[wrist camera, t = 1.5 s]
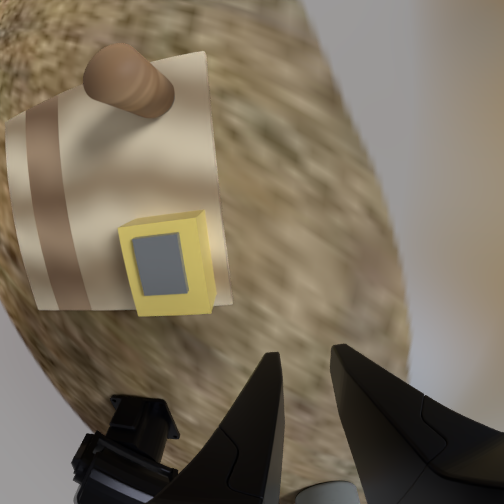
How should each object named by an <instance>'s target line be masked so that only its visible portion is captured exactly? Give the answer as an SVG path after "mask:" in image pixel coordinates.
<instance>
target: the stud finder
mask: <svg viewBox="0 0 504 504" xmlns="http://www.w3.org/2000/svg"><path fill="white" fill-rule="evenodd" d="M118 234H119V239H120V244H121V248H122V253H123V258H124V262H125V267H126V271H127V275H128V279H129V283H130V287H131V291H132V295H133V299H134V303H135V306H136V310H137V313H138V316H171V315H193V314H211V312H212V308H213V305H214V301H215V298H216V294H217V292H216V285H215V279H214V272H213V266H212V259H211V252H210V245H209V238H208V230H207V223H206V215H205V210H196V211H188V212H180V213H172V214H164V215H157V216H150V217H143V218H136V219H134V220H132V221H130V222H128V223H126V224H124V225H122V226H120V227H118Z"/></svg>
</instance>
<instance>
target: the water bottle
mask: <svg viewBox="0 0 504 504" xmlns="http://www.w3.org/2000/svg"><path fill="white" fill-rule="evenodd" d="M295 504H360V501H359V497H358V493H357V489H356V486H355V485H354V484H353V483H350V482H346V481H334V482H327V483H322V484H318V485H315V486H312V487H310V488H307V489H305V490H303V491H302V492H300V493H299V494H298V495H297V497H296V499H295Z"/></svg>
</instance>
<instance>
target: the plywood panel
mask: <svg viewBox="0 0 504 504" xmlns="http://www.w3.org/2000/svg"><path fill="white" fill-rule="evenodd" d="M150 63H151V64H152V65H153V66H154V67H155V68H156V69H157V70H158V71H160V72H161V73H162V74H163V75H164V76H165V77H166V78H167V79H168V80H169V81H170V82H171V83H172V85H173V87H174V91H175V100H174V103H173V105H172V107H171V109H170V110H169V111H168V112H167V113H165V114H164V115H162V116H159V117H156V118H143V117H141V116H138V115H135V114H133V113H130V112H127V111H124V110H122V109H119V108H116V107H113V106H110V105H108V104H105V103H102V102H99V101H96V100H93V99H92V98H90V97H89V96H88V95H87V94H86V92H85V90H84V86H83V84H82V85H79V86H77V87H74V88H72V89H70V90H67V91H65V92H63V93H61V94H58V95H57V96H54V97H52V98H50V99H48V100H46V101H44V102H42V103H40V104H38V105H36V106H34V107H32V108H30V109H28V110H26V111H24V112H22V113H20V114H19V115H17V116H15V117H13V118H12V119H10V120H8V121H6V122H5V140H6V161H7V173H8V183H9V191H10V198H11V205H12V211H13V217H14V223H15V228H16V233H17V237H18V242H19V246H20V250H21V254H22V258H23V262H24V266H25V270H26V273H27V277H28V280H29V283H30V286H31V290H32V293H33V296H34V299H35V302H36V304H37V307H38V310H136V306H135V303H134V299H133V295H132V291H131V287H130V283H129V279H128V275H127V271H126V267H125V262H124V258H123V253H122V248H121V244H120V239H119V234H118V227H120V226H122V225H124V224H126V223H128V222H130V221H132V220H134V219H136V218H143V217H150V216H157V215H164V214H172V213H180V212H188V211H196V210H205V215H206V223H207V230H208V238H209V245H210V252H211V259H212V266H213V272H214V279H215V285H216V292H217V294H216V298H215V301H214V305H213V306H220V305H232V304H233V293H232V286H231V278H230V271H229V263H228V255H227V247H226V239H225V231H224V223H223V215H222V206H221V198H220V189H219V180H218V171H217V162H216V152H215V143H214V133H213V123H212V112H211V102H210V90H209V79H208V67H207V56H206V54H205V51H201V52H195V53H190V54H185V55H180V56H175V57H170V58H166V59H161V60H157V61H153V62H150Z"/></svg>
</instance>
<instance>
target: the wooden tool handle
mask: <svg viewBox="0 0 504 504" xmlns="http://www.w3.org/2000/svg"><path fill="white" fill-rule="evenodd" d="M83 86H84V90H85V92H86V94H87V95H88V96H89V97H90V98H92V99H93V100H96V101H99V102H102V103H105V104H108V105H110V106H113V107H116V108H119V109H122V110H124V111H127V112H130V113H133V114H135V115H138V116H141V117H143V118H156V117H159V116H162V115H164V114H165V113H167V112H168V111H169V110H170V109H171V107H172V105H173V103H174V100H175V91H174V87H173V85H172V83H171V82H170V81H169V80H168V79H167V78H166V77H165V76H164V75H163V74H162V73H161V72H160V71H158V70H157V69H156V68H155V67H154V66H153V65H152V64H151V63H150V62H149V61H147V60H146V59H145V58H144V57H143V56H142V55H141V54H140V53H138V52H137V51H136V50H135V49H134V48H133V47H131V46H130V45H128V44H124V43H116V44H112V45H109V46H106V47H105V48H103V49H101V50H100V51H99V52H97V53H96V54H95V55H94V56H93V58H92V59H91V60H90V62H89V63H88V65H87V67H86V69H85V72H84V76H83Z"/></svg>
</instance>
